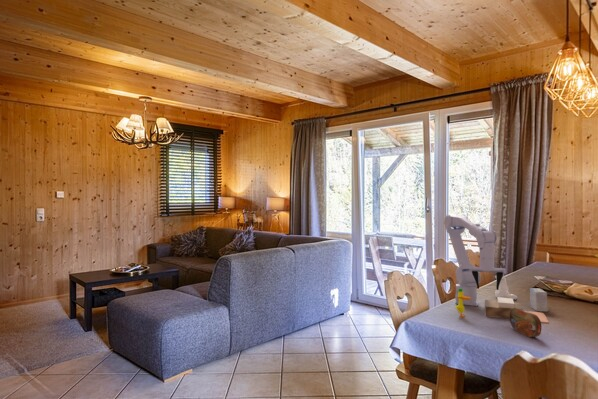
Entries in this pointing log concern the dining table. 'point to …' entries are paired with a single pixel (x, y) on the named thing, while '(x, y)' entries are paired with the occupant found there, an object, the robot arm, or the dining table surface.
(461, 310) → the toy figure
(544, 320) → the mat
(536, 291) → the medicine box
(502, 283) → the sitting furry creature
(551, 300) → the dining table surface
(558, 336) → the dining table surface
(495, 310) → the wooden block
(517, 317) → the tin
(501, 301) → the thick cream tile
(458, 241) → the robot arm
